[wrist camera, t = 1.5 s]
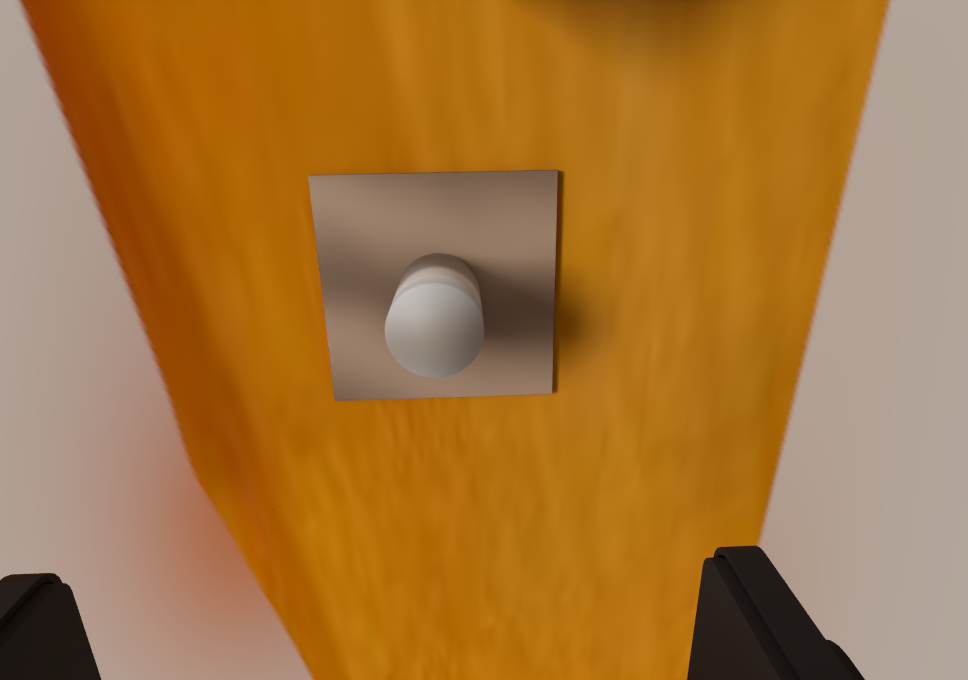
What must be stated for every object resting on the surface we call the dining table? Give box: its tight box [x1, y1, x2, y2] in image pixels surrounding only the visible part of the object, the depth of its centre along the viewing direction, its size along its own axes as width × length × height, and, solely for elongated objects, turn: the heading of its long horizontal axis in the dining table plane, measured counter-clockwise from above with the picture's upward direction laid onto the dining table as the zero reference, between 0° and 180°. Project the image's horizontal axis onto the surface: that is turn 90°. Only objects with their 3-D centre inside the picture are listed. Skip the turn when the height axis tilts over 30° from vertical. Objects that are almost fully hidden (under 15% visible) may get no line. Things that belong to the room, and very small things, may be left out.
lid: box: [308, 170, 558, 401], centre depth 24 cm, size 10×10×6 cm
